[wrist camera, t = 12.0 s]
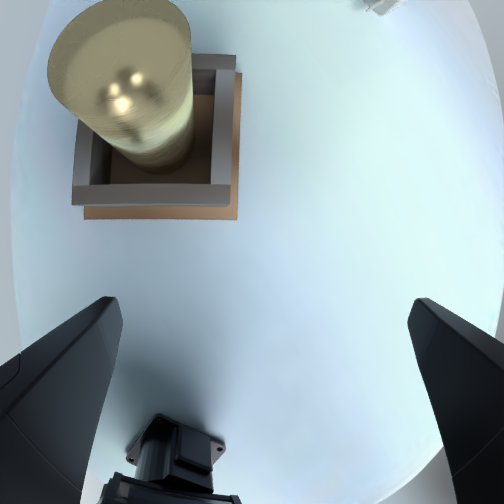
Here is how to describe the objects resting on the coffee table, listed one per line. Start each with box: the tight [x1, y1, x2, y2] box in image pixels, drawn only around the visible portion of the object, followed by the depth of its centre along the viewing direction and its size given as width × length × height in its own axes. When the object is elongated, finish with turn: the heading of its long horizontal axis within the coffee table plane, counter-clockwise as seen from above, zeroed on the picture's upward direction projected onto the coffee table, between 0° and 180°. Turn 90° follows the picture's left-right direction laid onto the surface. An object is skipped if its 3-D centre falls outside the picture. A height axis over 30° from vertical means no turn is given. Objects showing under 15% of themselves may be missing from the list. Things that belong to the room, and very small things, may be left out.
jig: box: [72, 54, 242, 220], centre depth 18 cm, size 10×10×5 cm
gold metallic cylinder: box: [47, 0, 196, 175], centre depth 13 cm, size 4×4×12 cm
